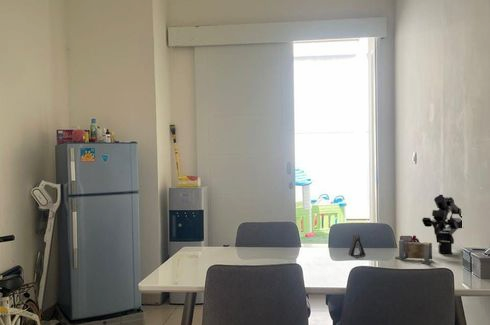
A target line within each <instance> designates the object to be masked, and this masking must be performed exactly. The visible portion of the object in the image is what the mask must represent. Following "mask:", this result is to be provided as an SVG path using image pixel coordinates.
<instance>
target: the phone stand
mask: <svg viewBox="0 0 490 325" xmlns="http://www.w3.org/2000/svg"><path fill="white" fill-rule="evenodd" d="M351 241H352V242H351V244H350V247H349V250H348V252H347V253H348V255H349V256H351V257H352V256H354V257H355V256H361V255H365V256H366V253H365V250H364V247H363V245H362V244H363V243H362V242H361V236H360V235H359V234H357V233H356V234H353V235H352V240H351ZM356 246H357V247H358V250H359V252H356V251H355V249H356Z"/></svg>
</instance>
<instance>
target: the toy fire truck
mask: <svg viewBox="0 0 490 325" xmlns="http://www.w3.org/2000/svg"><path fill="white" fill-rule="evenodd" d="M400 240H403V241H404V247H405V242H410V243H421V242H420V240H419V238H417V236H416V235H413V236H411V235H400V236H399V241H400Z"/></svg>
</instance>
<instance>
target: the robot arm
mask: <svg viewBox="0 0 490 325" xmlns="http://www.w3.org/2000/svg"><path fill="white" fill-rule="evenodd" d="M433 199H434V200H433V201H434V202H435V206H436V208H437V209H433V210H432V213H431V216H432V217H433V219H432V220H431V217H423V218H422V220H421V221H422V223H423V225H424V226H425V227H429V228H430V227H433V231H434V235H435V238H436V243H437V244H438V248H437V249H438V251H437V252H438V253H440V254H443V255H447V254H448V255H452V254H454V253H453V252H452V245H453V244H454V243H455V239H454V236H453V234H455V232H456V231H457V230H458V229H463V228H462V220H461V219H460V218H462V216H461V213H462V209H461V208H460V207H458V206H457V204H455V200H454V198H453V197H451V196H444V195H443V194H438V196H435V197H434V198H433ZM449 214H451V215H450V217H449V218H448V215H449ZM454 215H458V216H459V218H458V217H453V216H454ZM446 220H447V221H446Z"/></svg>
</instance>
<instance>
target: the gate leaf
mask: <svg viewBox="0 0 490 325" xmlns="http://www.w3.org/2000/svg"><path fill="white" fill-rule="evenodd" d="M423 243H424V242H420V243H410V242H405V258H406V259H416V260H417V259H418V260H419V259H420V260H424V244H423ZM429 243H430V244H429V260H433V243H432V242H429Z"/></svg>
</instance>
